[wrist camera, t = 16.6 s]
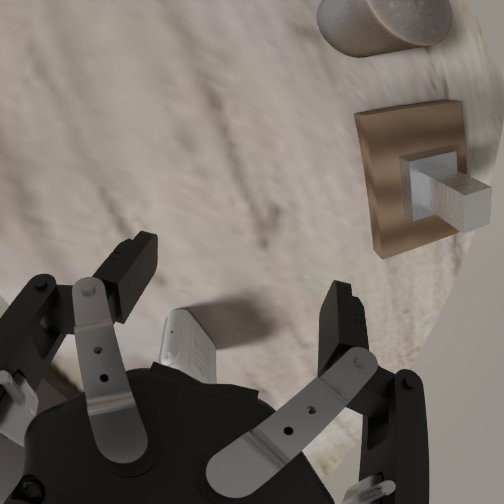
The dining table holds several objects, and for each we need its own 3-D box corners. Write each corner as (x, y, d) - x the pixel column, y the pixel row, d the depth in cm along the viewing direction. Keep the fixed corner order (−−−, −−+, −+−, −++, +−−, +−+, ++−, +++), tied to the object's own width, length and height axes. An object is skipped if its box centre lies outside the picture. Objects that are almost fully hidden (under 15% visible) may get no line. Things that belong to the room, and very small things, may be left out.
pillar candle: (395, 52, 32) (473, 43, 18) (330, 64, 32) (393, 50, 19) (371, -13, 27) (438, -47, 14) (303, -5, 28) (351, -53, 14)
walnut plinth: (353, 113, 35) (364, 115, 33) (448, 99, 35) (461, 101, 32) (373, 249, 45) (382, 259, 42) (454, 222, 44) (465, 229, 42)
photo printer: (161, 314, 46) (150, 376, 35) (185, 303, 46) (179, 366, 35) (197, 355, 51) (195, 416, 40) (219, 347, 50) (222, 408, 40)
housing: (398, 157, 35) (452, 182, 26) (445, 147, 35) (501, 169, 25) (403, 214, 39) (450, 252, 30) (447, 200, 39) (497, 233, 29)
